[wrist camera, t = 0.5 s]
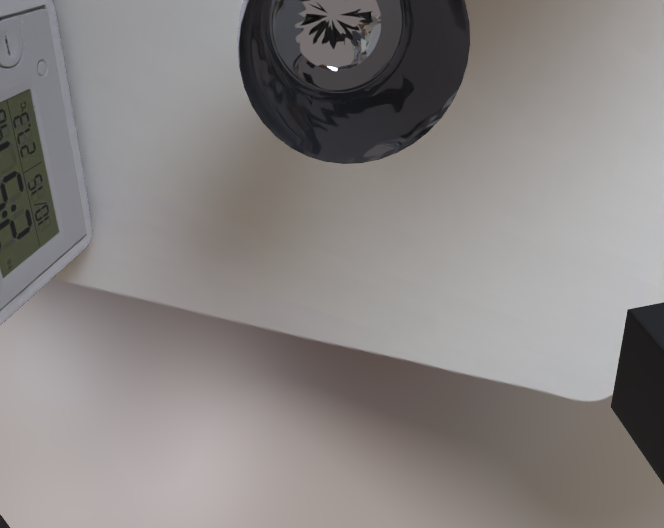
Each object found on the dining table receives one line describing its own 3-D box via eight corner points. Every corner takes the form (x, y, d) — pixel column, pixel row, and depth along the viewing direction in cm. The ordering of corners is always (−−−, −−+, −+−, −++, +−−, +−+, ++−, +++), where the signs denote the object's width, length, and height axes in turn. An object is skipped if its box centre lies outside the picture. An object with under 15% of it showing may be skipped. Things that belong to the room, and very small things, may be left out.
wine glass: (213, 20, 34) (203, 115, 21) (270, -136, 30) (297, -131, 18) (342, 79, 37) (400, 193, 24) (408, -58, 33) (515, -7, 21)
